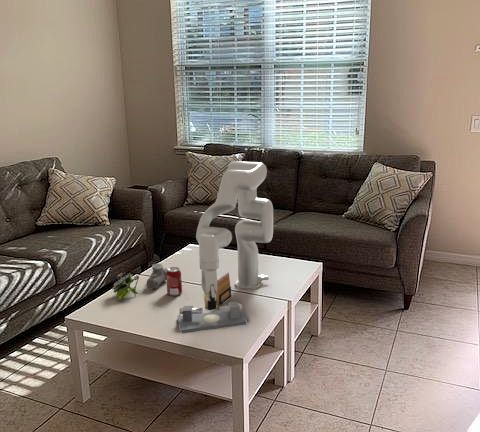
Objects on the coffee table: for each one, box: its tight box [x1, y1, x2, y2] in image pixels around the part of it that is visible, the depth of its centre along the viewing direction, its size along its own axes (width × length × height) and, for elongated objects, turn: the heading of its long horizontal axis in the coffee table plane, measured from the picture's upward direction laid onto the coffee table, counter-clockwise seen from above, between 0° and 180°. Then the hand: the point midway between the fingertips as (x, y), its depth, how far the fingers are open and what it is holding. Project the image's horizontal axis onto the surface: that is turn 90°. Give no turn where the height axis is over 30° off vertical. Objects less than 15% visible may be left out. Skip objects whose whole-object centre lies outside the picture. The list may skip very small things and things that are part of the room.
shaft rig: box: [177, 301, 247, 334], centre depth 205 cm, size 26×12×6 cm, turn 104°
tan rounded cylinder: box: [203, 292, 218, 311], centre depth 203 cm, size 5×5×7 cm
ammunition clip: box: [216, 272, 232, 307], centre depth 223 cm, size 11×2×12 cm, turn 152°
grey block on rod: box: [179, 305, 204, 322], centre depth 205 cm, size 9×4×5 cm, turn 89°
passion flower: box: [111, 272, 140, 301], centre depth 231 cm, size 13×12×14 cm
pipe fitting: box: [146, 263, 168, 290], centre depth 242 cm, size 12×8×10 cm, turn 163°
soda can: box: [166, 266, 183, 297], centre depth 232 cm, size 7×7×12 cm
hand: (210, 306), depth 204 cm, fingers closed on tan rounded cylinder, 4 cm apart
